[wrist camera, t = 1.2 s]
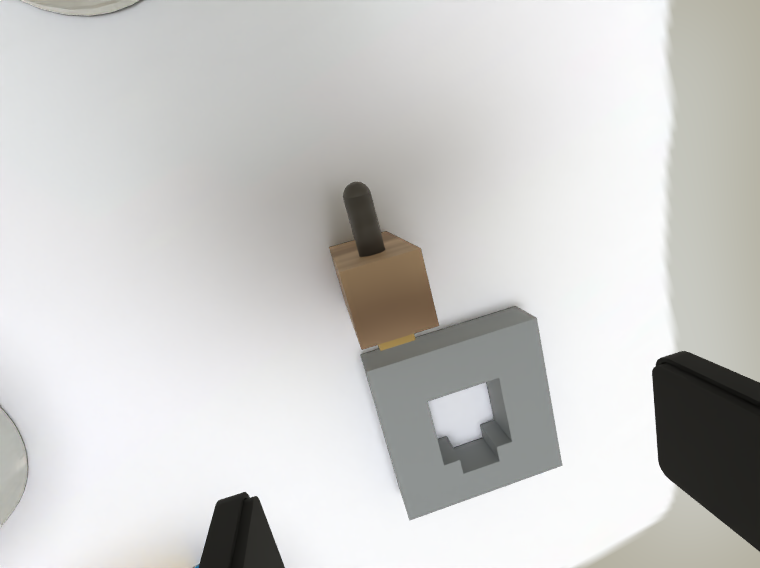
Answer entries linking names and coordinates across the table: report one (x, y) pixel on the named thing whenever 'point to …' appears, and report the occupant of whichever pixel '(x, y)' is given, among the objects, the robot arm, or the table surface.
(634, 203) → the table surface
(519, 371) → the socket block
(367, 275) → the walnut plug
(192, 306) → the table surface
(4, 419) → the utensil holder
